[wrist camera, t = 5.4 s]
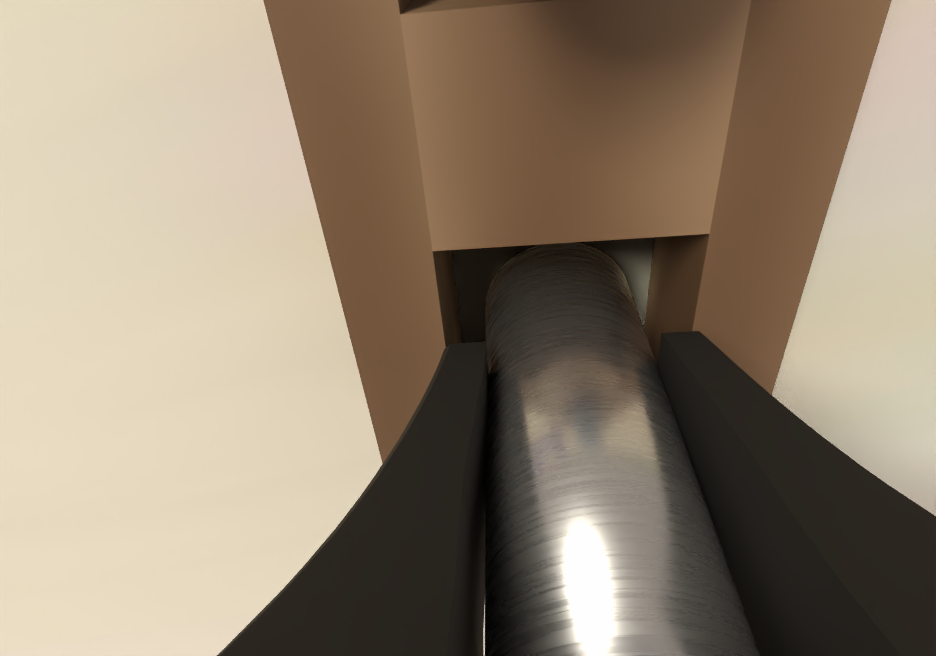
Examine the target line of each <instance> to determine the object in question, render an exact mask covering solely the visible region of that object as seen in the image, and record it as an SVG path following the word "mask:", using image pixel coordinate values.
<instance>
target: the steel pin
mask: <svg viewBox="0 0 936 656" xmlns="http://www.w3.org/2000/svg"><path fill="white" fill-rule="evenodd" d="M486 354H487V366H488V427H487V444H486V462H485V656H760V654H759V651H758V648H757V645H756V642H755V640H754V637H753V634H752V631H751V628H750V626H749V623H748V620H747V617H746V614H745V612H744V609H743V606H742V603H741V600H740V598H739V595H738V592H737V589H736V586H735V584H734V581H733V578H732V575H731V572H730V570H729V567H728V564H727V561H726V558H725V556H724V553H723V550H722V547H721V544H720V542H719V539H718V536H717V533H716V530H715V527H714V525H713V522H712V519H711V516H710V513H709V511H708V508H707V505H706V502H705V499H704V497H703V494H702V491H701V488H700V485H699V483H698V480H697V477H696V474H695V471H694V469H693V466H692V463H691V460H690V457H689V455H688V452H687V449H686V446H685V443H684V441H683V438H682V435H681V432H680V429H679V427H678V424H677V421H676V418H675V415H674V413H673V410H672V407H671V404H670V401H669V399H668V396H667V393H666V390H665V387H664V385H663V382H662V379H661V376H660V373H659V370H658V368H657V365H656V362H655V359H654V356H653V354H652V351H651V348H650V345H649V342H648V340H647V337H646V334H645V331H644V328H643V326H642V323H641V320H640V317H639V314H638V312H637V309H636V306H635V303H634V300H633V298H632V295H631V292H630V289H629V286H628V284H627V281H626V278H625V276H624V274H623V272H622V270H621V269H620V267H619V266H618V265H617V263H616V262H615V261H614V260H613V259H611V258H610V257H609V256H608V255H606V254H605V253H604V252H602V251H600V250H598V249H596V248H594V247H591V246H588V245H585V244H581V243H576V242H571V243H555V244H540V245H536V246H533V247H531V248H528V249H526V250H524V251H522V252H520V253H518V254H517V255H515V256H514V257H512V258H511V259H510V260H508V261H507V262H506V263H505V264H504V265H503V266H502V267H501V268H500V269H499V270H498V272H497V273H496V274H495V276H494V277H493V279H492V281H491V283H490V285H489V288H488V292H487V297H486Z"/></svg>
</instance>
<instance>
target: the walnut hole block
mask: <svg viewBox="0 0 936 656" xmlns="http://www.w3.org/2000/svg"><path fill="white" fill-rule="evenodd" d="M890 3H891V0H264V4H265V8H266V12H267V16H268V20H269V24H270V27H271V31H272V35H273V39H274V43H275V47H276V51H277V55H278V59H279V62H280V66H281V70H282V74H283V78H284V82H285V86H286V90H287V93H288V97H289V101H290V105H291V109H292V113H293V117H294V121H295V125H296V128H297V132H298V136H299V140H300V144H301V148H302V152H303V156H304V160H305V163H306V167H307V171H308V175H309V179H310V183H311V187H312V191H313V194H314V198H315V202H316V206H317V210H318V214H319V218H320V222H321V226H322V229H323V233H324V237H325V241H326V245H327V249H328V253H329V257H330V261H331V264H332V268H333V272H334V276H335V280H336V284H337V288H338V292H339V296H340V299H341V303H342V307H343V311H344V315H345V319H346V323H347V327H348V331H349V334H350V338H351V342H352V346H353V350H354V354H355V358H356V362H357V365H358V369H359V373H360V377H361V381H362V385H363V389H364V393H365V397H366V400H367V404H368V408H369V412H370V416H371V420H372V424H373V428H374V432H375V435H376V439H377V443H378V447H379V451H380V455H381V459H382V463H384V461H385V460H386V458H387V457H388V455H389V454H390V452H391V451H392V449H393V447H394V446H395V444H396V443H397V441H398V440H399V438H400V436H401V435H402V433H403V431H404V430H405V428H406V426H407V424H408V423H409V421H410V419H411V417H412V416H413V414H414V412H415V410H416V408H417V407H418V405H419V403H420V401H421V399H422V398H423V396H424V394H425V392H426V390H427V388H428V386H429V384H430V382H431V380H432V377H433V375H434V373H435V371H436V369H437V366H438V364H439V362H440V359H441V357H442V354H443V351H444V349H445V348H446V347H447V346H448V345H449V344H452V343H462V338H461V329H460V320H459V312H458V303H457V294H456V286H455V277H454V268H453V259H452V251H451V250H460V249H476V248H491V247H507V246H523V245H539V244H555V243H571V242H587V241H603V240H619V239H635V238H651V237H655V241H654V250H653V258H652V267H651V275H650V284H649V292H648V301H647V310H646V318H645V327H644V331H645V334H646V337H647V340H648V342H649V345H650V348H651V351H652V354H653V356H654V359H655V362H656V365H657V361H658V353H659V346H660V339H661V333H669V332H689V331H700V332H701V333H702V334H703V335H704V336H705V337H707V338H708V339H709V340H710V341H711V342H712V343H713V344H714V345H716V346H717V347H718V348H719V349H720V350H721V351H722V352H723V353H724V354H725V355H727V356H728V357H729V358H730V359H731V360H732V361H733V362H734V363H735V364H737V365H738V366H739V367H740V368H741V369H742V370H743V371H744V372H746V373H747V374H748V375H749V376H750V377H751V378H752V379H753V380H755V381H756V382H757V383H758V384H759V385H760V386H761V387H763V388H764V389H765V390H766V391H767V392H768V393H770V394H771V395H772V391H773V388H774V385H775V382H776V378H777V375H778V372H779V368H780V365H781V362H782V359H783V355H784V352H785V349H786V345H787V342H788V339H789V336H790V332H791V329H792V326H793V322H794V319H795V316H796V313H797V309H798V306H799V303H800V299H801V296H802V293H803V289H804V286H805V283H806V280H807V276H808V273H809V270H810V266H811V263H812V260H813V257H814V253H815V250H816V247H817V243H818V240H819V237H820V234H821V230H822V227H823V224H824V220H825V217H826V214H827V211H828V207H829V204H830V201H831V197H832V194H833V191H834V187H835V184H836V181H837V178H838V174H839V171H840V168H841V164H842V161H843V158H844V155H845V151H846V148H847V145H848V141H849V138H850V135H851V132H852V128H853V125H854V122H855V118H856V115H857V112H858V109H859V105H860V102H861V99H862V95H863V92H864V89H865V85H866V82H867V79H868V76H869V72H870V69H871V66H872V62H873V59H874V56H875V53H876V49H877V46H878V43H879V39H880V36H881V33H882V30H883V26H884V23H885V20H886V16H887V13H888V10H889V7H890Z"/></svg>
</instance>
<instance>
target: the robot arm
mask: <svg viewBox="0 0 936 656" xmlns="http://www.w3.org/2000/svg"><path fill="white" fill-rule="evenodd" d="M657 368H658V370H659V373H660V376H661V379H662V382H663V385H664V387H665V390H666V393H667V396H668V399H669V401H670V404H671V407H672V410H673V413H674V415H675V418H676V421H677V424H678V427H679V429H680V432H681V435H682V438H683V441H684V443H685V446H686V449H687V452H688V455H689V457H690V460H691V463H692V466H693V469H694V471H695V474H696V477H697V480H698V483H699V485H700V488H701V491H702V494H703V497H704V499H705V502H706V505H707V508H708V511H709V513H710V516H711V519H712V522H713V525H714V527H715V530H716V533H717V536H718V539H719V542H720V544H721V547H722V550H723V553H724V556H725V558H726V561H727V564H728V567H729V570H730V572H731V575H732V578H733V581H734V584H735V586H736V589H737V592H738V595H739V598H740V600H741V603H742V606H743V609H744V612H745V614H746V617H747V620H748V623H749V626H750V628H751V631H752V634H753V637H754V640H755V642H756V645H757V648H758V651H759V654H760V656H936V516H934V515H933V514H931V513H930V512H928V511H927V510H925V509H924V508H922V507H921V506H919V505H918V504H916V503H915V502H913V501H912V500H910V499H909V498H907V497H906V496H904V495H903V494H901V493H900V492H898V491H897V490H895V489H894V488H892V487H891V486H889V485H887V484H886V483H885V482H883V481H882V480H880V479H879V478H877V477H876V476H875V475H873V474H872V473H870V472H869V471H868V470H866V469H865V468H863V467H862V466H861V465H859V464H858V463H856V462H855V461H854V460H853V459H851V458H850V457H849V456H847V455H846V454H845V453H843V452H842V451H841V450H839V449H838V448H837V447H835V446H834V445H833V444H831V443H830V442H829V441H827V440H826V439H825V438H823V437H822V436H821V435H819V434H818V433H817V432H816V431H814V430H813V429H812V428H811V427H809V426H808V425H807V424H806V423H804V422H803V421H802V420H801V419H799V418H798V417H797V416H796V415H795V414H793V413H792V412H791V411H790V410H788V409H787V408H786V407H785V406H784V405H783V404H781V403H780V402H779V401H778V400H777V399H775V398H774V397H773V396H772V395H771V394H770V393H768V392H767V391H766V390H765V389H764V388H763V387H761V386H760V385H759V384H758V383H757V382H756V381H755V380H753V379H752V378H751V377H750V376H749V375H748V374H747V373H746V372H744V371H743V370H742V369H741V368H740V367H739V366H738V365H737V364H735V363H734V362H733V361H732V360H731V359H730V358H729V357H728V356H727V355H725V354H724V353H723V352H722V351H721V350H720V349H719V348H718V347H717V346H716V345H714V344H713V343H712V342H711V341H710V340H709V339H708V338H707V337H705V336H704V335H703V334H702V333H701V332H700V331H689V332H669V333H661V339H660V346H659V353H658V361H657ZM487 427H488V366H487V354H486V342H472V343H452V344H449V345H448V346H447V347H446V348H445V349H444V351H443V354H442V357H441V359H440V362H439V364H438V366H437V369H436V371H435V373H434V375H433V377H432V380H431V382H430V384H429V386H428V388H427V390H426V392H425V394H424V396H423V398H422V399H421V401H420V403H419V405H418V407H417V408H416V410H415V412H414V414H413V416H412V417H411V419H410V421H409V423H408V424H407V426H406V428H405V430H404V431H403V433H402V435H401V436H400V438H399V440H398V441H397V443H396V444H395V446H394V447H393V449H392V451H391V452H390V454H389V455H388V457H387V458H386V460H385V461H384V463H383V464H382V466H381V467H380V469H379V471H378V472H377V474H376V475H375V477H374V478H373V479H372V481H371V482H370V484H369V485H368V486H367V488H366V489H365V491H364V492H363V493H362V495H361V496H360V498H359V499H358V500H357V502H356V503H355V504H354V506H353V507H352V508H351V509H350V511H349V512H348V513H347V515H346V516H345V517H344V518H343V520H342V521H341V522H340V524H339V525H338V526H337V527H336V529H335V530H334V531H333V532H332V534H331V535H330V536H329V537H328V538H327V539H326V541H325V542H324V543H323V544H322V545H321V546H320V548H319V549H318V550H317V551H316V552H315V554H314V555H313V556H312V557H311V558H310V559H309V561H308V562H307V563H306V564H305V565H304V566H303V568H302V569H301V570H300V571H299V572H298V573H297V574H296V575H295V576H294V578H293V579H292V580H291V581H290V582H289V583H288V584H287V585H286V586H285V587H284V589H283V590H282V591H281V592H280V593H279V594H278V595H277V596H276V597H275V598H274V599H273V600H272V601H271V602H270V603H269V604H268V605H267V606H266V607H265V608H264V609H263V610H262V611H261V612H260V613H259V614H258V615H257V616H256V617H255V618H254V619H253V620H252V621H251V622H250V623H249V624H248V625H247V626H246V627H245V628H244V629H243V630H242V631H241V632H240V633H239V634H238V635H237V636H236V637H235V638H234V639H233V640H232V641H231V642H230V643H229V644H228V645H227V646H226V647H225V648H224V649H223V650H222V651H221V652H220V653H219V654H218V655H217V656H483V623H484V601H485V462H486V444H487Z"/></svg>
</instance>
